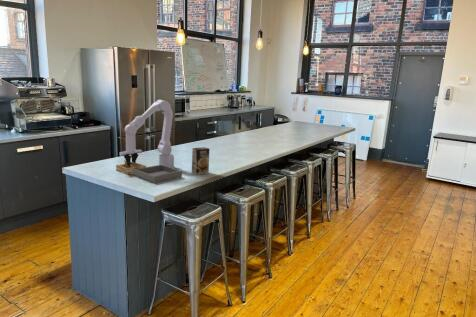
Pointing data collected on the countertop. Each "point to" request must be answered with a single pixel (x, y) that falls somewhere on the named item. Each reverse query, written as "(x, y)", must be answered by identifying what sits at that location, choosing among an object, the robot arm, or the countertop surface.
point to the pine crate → (129, 167)
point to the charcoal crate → (157, 173)
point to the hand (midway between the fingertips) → (131, 165)
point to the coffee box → (200, 161)
